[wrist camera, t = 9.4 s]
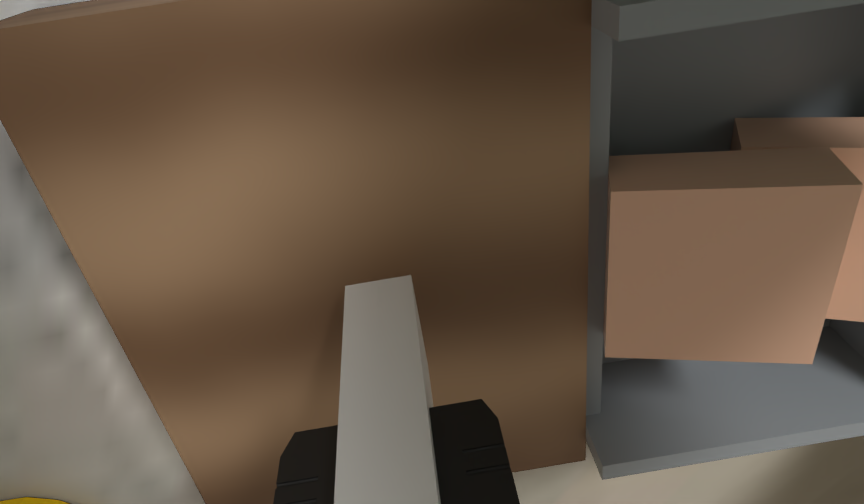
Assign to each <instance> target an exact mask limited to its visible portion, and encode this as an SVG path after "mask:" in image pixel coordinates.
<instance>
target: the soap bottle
mask: <svg viewBox="0 0 864 504" xmlns="http://www.w3.org/2000/svg"><path fill="white" fill-rule="evenodd" d="M0 504H70V503H67V502H63V501H60V500H55V499H43V498H32V497H24V498H17V499H11V500H4V501H0Z"/></svg>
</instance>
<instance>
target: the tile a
mask: <svg viewBox="0 0 864 504" xmlns="http://www.w3.org/2000/svg"><path fill="white" fill-rule="evenodd" d="M862 188H863V184H862V183H861V182H860V180H859V179H858V178H857V177H856V176H855V175H854V174H853V173H852V172H851V171H850V170H849V169H848V168H847V167H846V165H845V164H844V163H843V162H842V161H841V160H840V159H839V158H838V157H837V156H836V155H835V154H834V153H833V152H832V150H831V149H830V148H829V147H810V148H786V149H762V150H738V151H714V152H690V153H666V154H642V155H618V156H609V167H608V198H607V229H606V260H605V292H604V323H603V337H604V350H605V357H611V358H641V359H670V360H700V361H730V362H759V363H789V364H812V363H813V360H814V356H815V353H816V349H817V346H818V342H819V339H820V335H821V332H822V328H823V325H824V321H825V318H826V314H827V311H828V307H829V304H830V300H831V297H832V293H833V290H834V286H835V283H836V279H837V276H838V272H839V269H840V265H841V262H842V258H843V254H844V251H845V247H846V244H847V240H848V237H849V233H850V230H851V226H852V223H853V219H854V216H855V212H856V209H857V205H858V202H859V198H860V195H861V191H862Z"/></svg>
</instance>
